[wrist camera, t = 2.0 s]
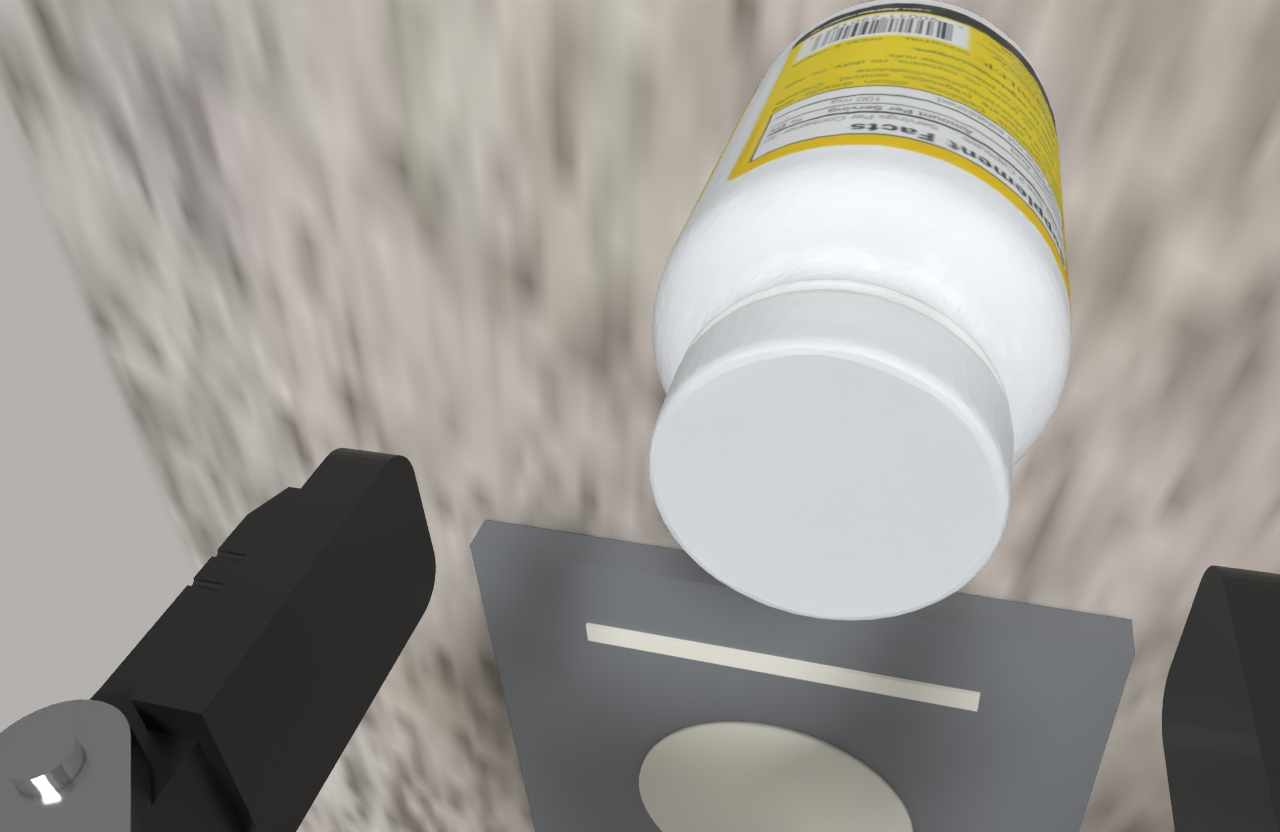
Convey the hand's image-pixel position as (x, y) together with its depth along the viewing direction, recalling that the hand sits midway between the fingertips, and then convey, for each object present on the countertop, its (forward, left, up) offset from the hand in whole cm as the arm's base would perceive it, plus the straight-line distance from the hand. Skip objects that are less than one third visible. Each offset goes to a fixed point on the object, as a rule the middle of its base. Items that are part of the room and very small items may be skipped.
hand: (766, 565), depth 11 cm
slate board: (+2, +20, -11) cm, 23 cm away
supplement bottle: (0, 0, -11) cm, 11 cm away
